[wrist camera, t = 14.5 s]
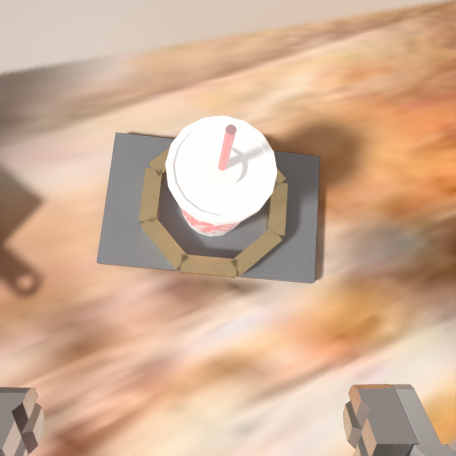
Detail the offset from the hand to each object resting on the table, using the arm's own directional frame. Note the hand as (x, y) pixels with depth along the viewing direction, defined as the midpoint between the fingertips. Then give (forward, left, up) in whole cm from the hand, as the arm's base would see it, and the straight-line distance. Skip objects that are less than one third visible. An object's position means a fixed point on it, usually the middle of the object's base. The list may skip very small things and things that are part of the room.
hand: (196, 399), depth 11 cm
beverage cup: (+1, +10, -19) cm, 22 cm away
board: (+1, +10, -20) cm, 22 cm away
